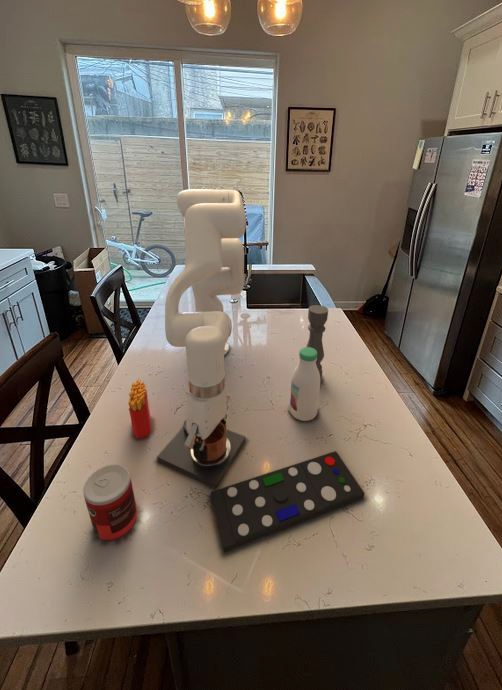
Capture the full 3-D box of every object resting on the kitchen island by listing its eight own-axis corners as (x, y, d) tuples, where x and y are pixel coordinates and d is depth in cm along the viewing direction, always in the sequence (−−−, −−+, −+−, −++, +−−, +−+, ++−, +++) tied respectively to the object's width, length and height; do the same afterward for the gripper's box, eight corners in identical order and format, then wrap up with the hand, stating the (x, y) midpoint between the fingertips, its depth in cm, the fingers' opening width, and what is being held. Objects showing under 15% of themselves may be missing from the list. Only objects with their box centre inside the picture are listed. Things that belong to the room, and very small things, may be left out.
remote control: (363, 497, 70) (364, 491, 69) (224, 552, 60) (223, 545, 59) (335, 455, 79) (336, 449, 78) (211, 496, 69) (210, 490, 68)
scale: (157, 461, 77) (156, 451, 76) (192, 420, 89) (192, 411, 87) (215, 488, 71) (215, 479, 70) (245, 440, 83) (245, 431, 81)
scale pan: (182, 457, 74) (182, 455, 74) (205, 428, 82) (205, 427, 82) (217, 472, 71) (217, 471, 71) (237, 441, 79) (237, 440, 79)
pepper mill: (321, 386, 102) (328, 315, 93) (301, 383, 104) (306, 312, 94) (321, 374, 108) (329, 305, 98) (303, 371, 109) (308, 303, 99)
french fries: (134, 417, 89) (127, 378, 84) (151, 414, 90) (145, 375, 85) (133, 444, 81) (125, 403, 76) (151, 440, 82) (145, 399, 77)
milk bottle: (319, 405, 95) (325, 346, 87) (314, 425, 88) (320, 362, 80) (293, 399, 97) (297, 341, 89) (286, 417, 90) (290, 356, 82)
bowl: (188, 454, 75) (186, 438, 73) (206, 431, 81) (205, 415, 79) (215, 466, 72) (215, 450, 70) (232, 441, 78) (232, 425, 76)
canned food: (102, 503, 67) (92, 465, 63) (142, 500, 68) (135, 462, 64) (87, 544, 60) (74, 504, 56) (131, 541, 61) (123, 501, 57)
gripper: (214, 357, 78) (216, 414, 85) (165, 403, 63) (173, 469, 70) (242, 365, 75) (242, 424, 82) (198, 416, 60) (202, 482, 67)
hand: (210, 444), depth 76 cm, fingers closed on bowl, 7 cm apart
